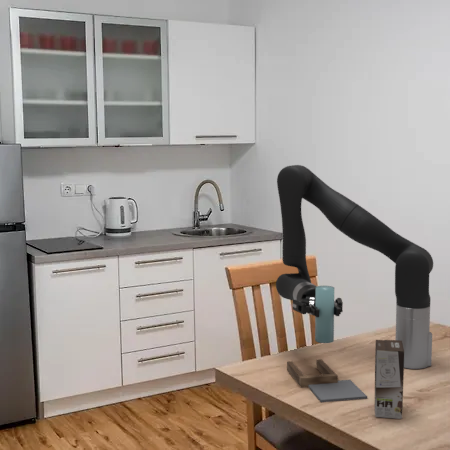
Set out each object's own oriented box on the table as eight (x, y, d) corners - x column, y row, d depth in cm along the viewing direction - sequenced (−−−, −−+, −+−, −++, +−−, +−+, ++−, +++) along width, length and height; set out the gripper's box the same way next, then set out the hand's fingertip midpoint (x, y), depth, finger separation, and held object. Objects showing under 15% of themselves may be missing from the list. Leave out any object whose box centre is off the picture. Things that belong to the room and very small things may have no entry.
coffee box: (403, 419, 158) (405, 351, 155) (374, 417, 159) (375, 349, 157) (401, 404, 166) (402, 339, 164) (374, 402, 168) (375, 338, 166)
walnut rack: (321, 367, 193) (321, 359, 192) (337, 384, 180) (337, 375, 179) (286, 370, 191) (287, 361, 191) (300, 387, 178) (300, 378, 178)
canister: (330, 337, 181) (331, 285, 179) (336, 342, 177) (337, 289, 175) (312, 338, 180) (313, 285, 179) (318, 343, 176) (318, 290, 174)
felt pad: (350, 381, 182) (350, 379, 182) (367, 398, 170) (367, 396, 170) (306, 384, 180) (306, 382, 180) (320, 402, 168) (320, 399, 168)
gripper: (284, 285, 190) (301, 299, 173) (334, 283, 192) (355, 297, 175) (284, 311, 191) (300, 328, 174) (333, 309, 193) (354, 325, 176)
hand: (328, 312), depth 175 cm, fingers closed on canister, 4 cm apart
